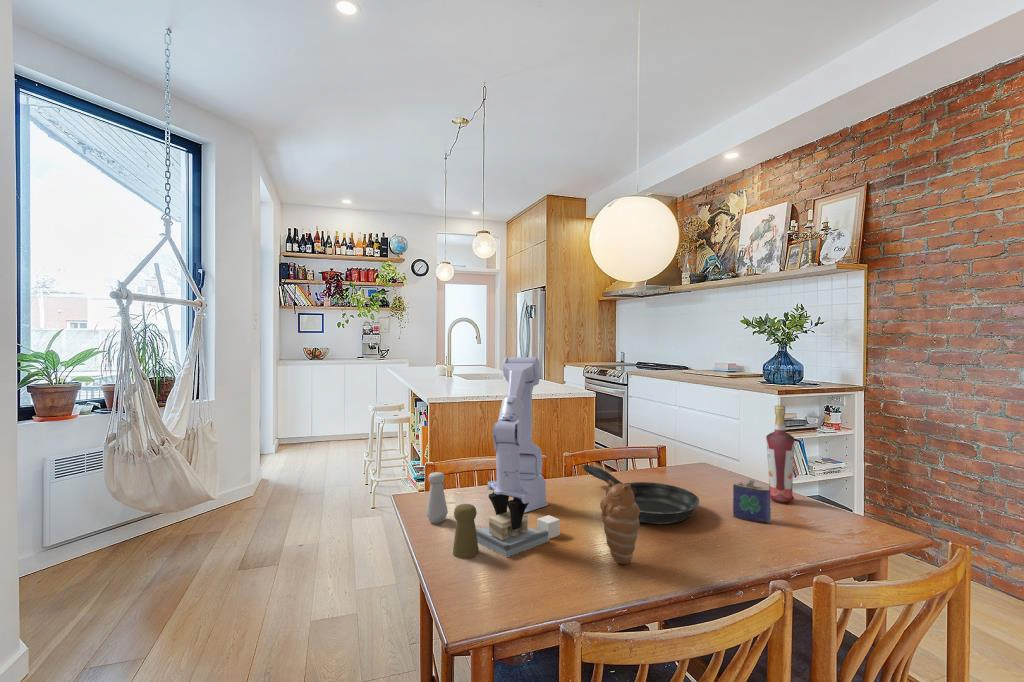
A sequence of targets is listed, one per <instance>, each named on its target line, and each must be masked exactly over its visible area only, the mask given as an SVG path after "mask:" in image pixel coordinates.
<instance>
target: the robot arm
mask: <svg viewBox="0 0 1024 682" xmlns="http://www.w3.org/2000/svg"><path fill="white" fill-rule="evenodd" d="M540 367H541V366H540V359H539V358H538V356H531V357H530V356H529V357H525V356H524V357H521V356H519V357H518V356H517V357H516V356H515V357H513V356H511V357H509V356H506V357H505V358H504V359H503V363H502V373H503V376H504V378H505V381H507V394H506V397H504V398H503V399H502V401H501V405H500V410H499V413H498V420H497V422H495V423H493V428H492V440H493V446H494V447H493V449H494V452H495V458H496V459H495V461H496V462H495V467H496V469H495V470H496V480H490V481H488V482H487V490H488V491H492V493H489V494H488V499H489V500H490V503H491V504H492V506H493V508H494V512H495V515H498V514H501V513H505V512H508V511H510V515H511V526H512V529H513V530H515V529H518V528H520V527H521V522H522V518H523V515H524V514H525V513H528V512H531V511H534V510H538V509H541V508H543V507H544V508H545V507H547V506H548V505H549V503H546V502H547V487H546V486H547V483H546V479H545V478H544V476H543V475H542V472H543V463H544V462H543V454H542V453H543V451H542V449H541V447H539V445H537V444H536V443H535V442H533V391H534V387H535V386H538V385H539V384H540V379H541V378H540V376H541V375H540V372H541V371H540V369H541V368H540ZM510 497H511V498H512V499H510ZM509 499H510V500H509Z"/></svg>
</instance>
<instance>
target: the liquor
mask: <svg viewBox="0 0 1024 682" xmlns="http://www.w3.org/2000/svg"><path fill="white" fill-rule="evenodd" d="M774 414H775V424H774V431H773V432H770V433H769V434H767V435H766V436H765V439H766V453H767V467H768V468H767V470H768V487H769V489H770V491H771V493H770V500H772V501H773V502H775V503H778V504H788V503H791V502H792V501H793V500H794V499H795V496H794V495H793V481H794V479H793V477H794V476H793V475H794V462H795V461H794V457H795V437H794V436H793V435H792V434H790V433H788V432H787V431H786V429H787V428H786V420H785V416H786V415H785V414H786V405H774Z"/></svg>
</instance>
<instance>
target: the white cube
mask: <svg viewBox="0 0 1024 682" xmlns="http://www.w3.org/2000/svg"><path fill="white" fill-rule="evenodd" d="M560 520H561V519H559V518H557V517H555V516H551V515H549V514H548V515H545V516H541V517H539V518H537V519H536V530H537V531H539V532H543V531H545V530H546V531H548V540H550V538H551V539H553V538H555V537H558V535H559V536H560V535H561V530H560V529H561V527H560V525H561V523H560Z"/></svg>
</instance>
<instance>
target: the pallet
mask: <svg viewBox="0 0 1024 682" xmlns="http://www.w3.org/2000/svg"><path fill="white" fill-rule="evenodd" d="M488 521H489V523H488V527H489V534H491V535H493V536H495V537H497V538H499V539H501V540H504V539H507V534H508V535H510V536H512V537H513V536H516V535H518V531H519V532H521V533H524V532H527V526H528V515H527V514H525V513H524V515H523V518H522V522H521V527H520V528H518V529H515V530H513V529H512V526H511V515H510V511H509V510H507V512H505V513H501V514H498V515H496V514H495V515H491V516H489V519H488Z"/></svg>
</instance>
